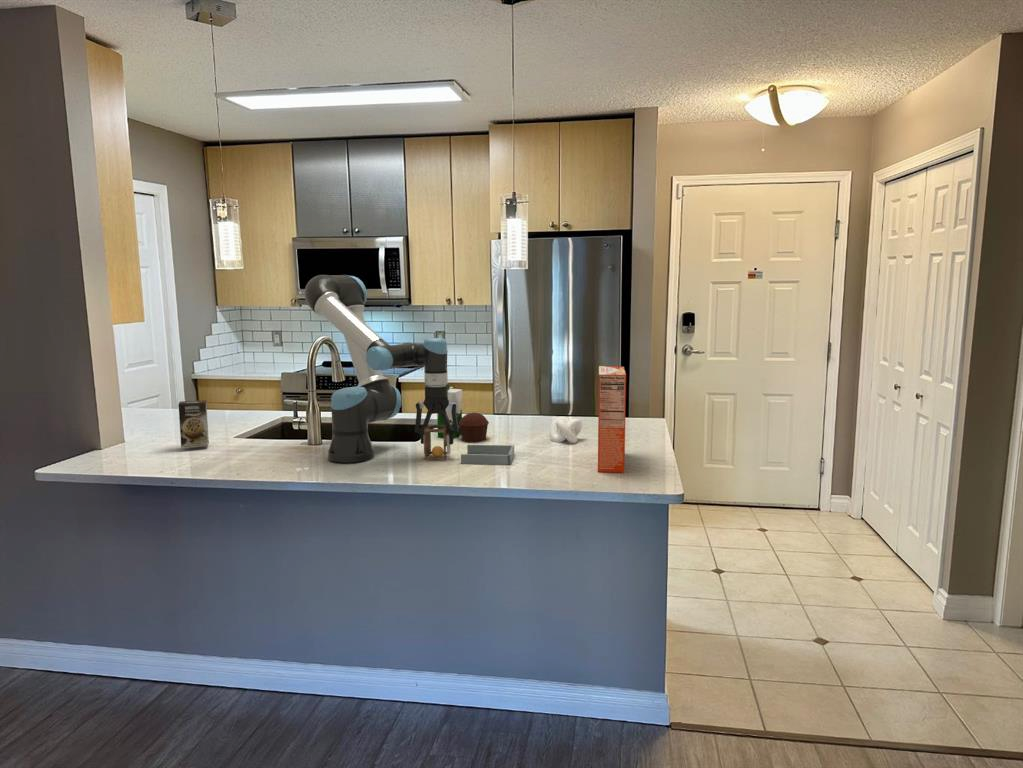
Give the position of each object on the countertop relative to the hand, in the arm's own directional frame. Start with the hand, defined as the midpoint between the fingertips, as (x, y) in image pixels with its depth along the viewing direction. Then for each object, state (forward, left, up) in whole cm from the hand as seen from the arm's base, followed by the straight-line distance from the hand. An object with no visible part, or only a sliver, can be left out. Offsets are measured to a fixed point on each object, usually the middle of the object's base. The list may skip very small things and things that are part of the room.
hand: (437, 453), depth 225 cm
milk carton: (-2, +33, -2) cm, 33 cm away
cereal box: (+57, -2, -2) cm, 57 cm away
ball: (0, 0, 0) cm, 0 cm away
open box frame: (0, 0, -1) cm, 1 cm away
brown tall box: (-92, +12, -2) cm, 93 cm away
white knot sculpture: (+43, +27, -2) cm, 51 cm away
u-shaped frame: (+17, 0, -1) cm, 17 cm away
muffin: (+8, +28, -2) cm, 29 cm away
